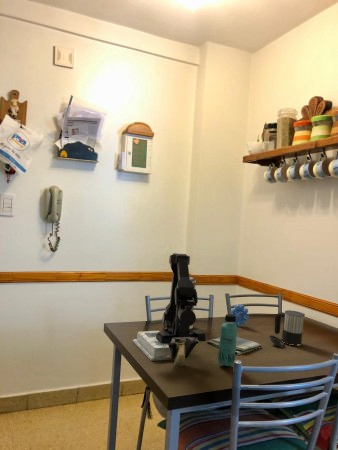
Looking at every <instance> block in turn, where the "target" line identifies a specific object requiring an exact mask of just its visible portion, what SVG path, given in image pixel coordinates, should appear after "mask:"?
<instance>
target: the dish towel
mask: <svg viewBox="0 0 338 450" xmlns="http://www.w3.org/2000/svg"><path fill="white" fill-rule="evenodd" d="M219 343H220V337H217V338H214V339H210V340H206V344H208V345H211V346H213V347H215V348H218V349H219V345H220V344H219ZM259 347H261V348H262V344H260V343H258V342H256V341H253V340H250V339H246V338H242V337H239V336H237V339H236V350H235V352H236V354H235V355H236V356H241V355H243V353H244V354H246V352H247V353H250V352H252V350H253V351H255V350H254V349H256V350H258V349H257V348H259ZM259 349H260V348H259Z"/></svg>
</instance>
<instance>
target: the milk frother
mask: <svg viewBox="0 0 338 450" xmlns="http://www.w3.org/2000/svg"><path fill="white" fill-rule="evenodd" d="M305 316H306V315H305V313H304V312H301V311H296V310H291V309H289V310H284V312H283V311H281V312H279V313H277V314H276V315H275V317H274V334H275V335H278V334H280V333H281V319H282V318H283V326H282V333H281V334H282V335H281V338H282V339H281V338H279V337H277V336H275V335H273V334H271V335H269V337H268V338H269V340H270V341H271V343H272V344H274V345H275V346H276V347H281V346H283V347H284V346H285V344H284V343H283V342H285V343H288V344H294V345H297V344H302V342H303V341H302V338H303V331H304V330H303V329H304V328H303V327H304V321H305ZM282 341H283V342H282Z"/></svg>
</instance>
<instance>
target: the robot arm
mask: <svg viewBox="0 0 338 450" xmlns="http://www.w3.org/2000/svg"><path fill="white" fill-rule="evenodd" d="M168 259H169V260H168V264H169V266H170V267H169V268H170V269H171V271H172V279H171V286H170V287H171V288H170V298H169V303H168V304H167V305H166V306H165V311H164V312H163V314H162V319H161V320H162V322H161V323H162V326H163V327H162V331H160V332H158V333H157V335H156V339H157V340H158V341H159V342H160V343H161V344H168V346H169V348H170V352H171V356H172V359H171V360H172V361H174V359H175V353H176V346H177V344H176V341H180V340H185V343H186V352H185V359H186V360H187V359H188V358H189V356H190V354H191V353H192V351H193V349H194V348H195V347H196V345H197V344H199V343H200V342H207V334H206V333H205V332H204V331H202V330H201V329H190V326H191V325H192V326H193V325H194V324H195V323H196V320H197V316H196V313H195V311H193V310H194V309H193V310H192V306H194V307H197V305H198V302H199V300H198V291H197V288H194V283H193V282H192V281H191V280H190V270H189V265H190V264H191V263H190V262H191V256H190V255H187V254H186V253H177V252H175V253H172V254H169V257H168ZM192 300H194V301H192Z"/></svg>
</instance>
